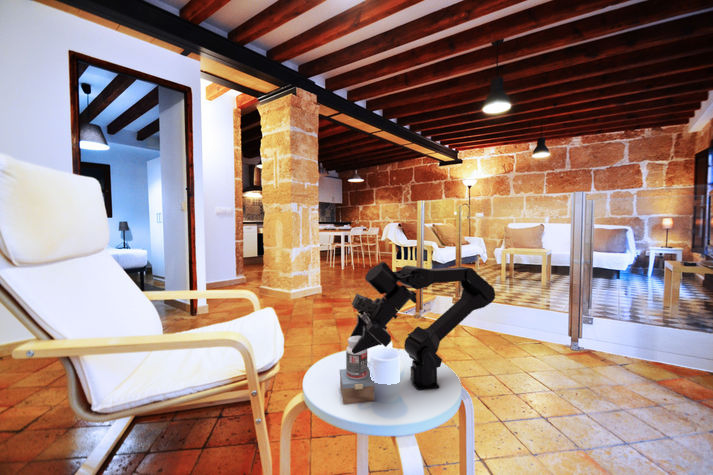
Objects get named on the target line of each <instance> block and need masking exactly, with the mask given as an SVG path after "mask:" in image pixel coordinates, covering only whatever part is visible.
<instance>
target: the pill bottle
mask: <svg viewBox="0 0 713 475" xmlns="http://www.w3.org/2000/svg"><path fill="white" fill-rule="evenodd" d="M360 338H361V336H352V337H350V336H349V337H348V339H347V344H348V346H347V347H346V349H345V350H346V351H345V353H346V354H345V357H346V359H345V361H346V362H345V363H346V368H345V369H346V374H347V376H348V377H349V378H350V379H354V380H360V379H363V378H365V377H366V376H367V367H368V349H366V350H363V351H361V352H358V353H356V354H354V353H353V352H352V349H353V348H354V346H355V345H356V343H357V342H358V340H359V339H360Z"/></svg>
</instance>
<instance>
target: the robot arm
mask: <svg viewBox="0 0 713 475" xmlns="http://www.w3.org/2000/svg"><path fill="white" fill-rule="evenodd" d="M364 277H365V278H364V280H365V281H366V282H367V284H369V285H370V286H371V287H373V289H374V290H375V291H376V292H378V293H379V294H380V295H383V296H382V297H381V298H380V297H377V298H375V300H373V299H372V298H369V297H368V296H363V295H361V294H358V293H356V294H355V296H354V297H353V298H354V299H353V301H352V302H351V305H352V307H353V309H355V310H356V312H357V313H356V317H357V318H356V319H357V320H356V325H355V326H354V328H353V331H352V332H351V334H350V336H349V338H350V337H352V336H361V338H360V339H359V340H358V342H357V343H356V345H355V346H354V348H353V349H352V352H353V353H354V354H356V353H358V352H361V351H363V350H366V349H367V350H369V349H371V348H374V347H377V346H384V348H387V347H388V345H390V343H391V342H392V335H391V334H390V333H389V332H388V330H387V329H388V326H387V325H388V324H389V323H390V322H391V321H392V319H393V318H394V319H395V320H396V319H397V318H398V317H399V316H398V313H399V311H401V309H402V308H403V307H404V306H405V305H406V304H407V303H408V302H409V301H410V302H412V303H413V304H417V303H418V302H417V295H418V294H417V292H416V291H414V290H410V289H408V288H407V287H409V288H411V289H415V290H421V289H425V288H428V287H430V286H432V285H434V284H440V283H451V282H452V283H454V282H459V284H460V287H461V288H462V291H461V295H460V298H459V300H457V301H455V303H454V304H453V305H452V306H450V307H449V308H448V309H446V311H445V312H443V314H441V316H439V317H438V318H436V320H434V322H432V323H431V324H430V325H429V326H428V327H427V328H422V327H420V326H418V325H417V327H415V328H414V330H413V331H411V332H410V333H408V334H407V337H406V338H405V340H404V345H403V346H404V351H405V353H407V354H408V356H409V358H410V359H412V362H411V366H410V381H411V382H412V385H413V386H414V387H415V388H416V390H418V391H420V390H429V389H430V390H431V389H440V384H439V383H438V368H441V365H442V362H443V359H442V358H441V356H439V355H438V354H437V352H438V350H439V346H440V344H441V343H440V342H441V341H442V340H443V339H444V338H445V337H447V336H448V334H450V333H451V332H452V331H453V330H454V329H455V328H456V327H457V326H459V324H461V323H462V322H463V321H464V319H466V318H467V317H468V316H469V315H470V314H472V312H474V311H476V310H480V309H483V308H486V307H488V306H489V305H490V304H491V303H493V302H494V300H495V298H496V291H495V288H494V287H493V285H490V284H489V282H488V281H487V280H485V279H484V278H483V277H481V276H480V275H479V274H478V273H477V272H476V270H474V269H473V268H472V267H467V266H458V267H441V268H439V267H438V268H437V267H436V268H427V267H426V268H424V267H420V266H413V265H403V266H402V268H401V269H399V270H394V271H393V270H392V269H391V267H390V266H389V265H388V263H387V262H385V261H380V262H379V263H378V264H376V265H375V266H373V267H372V268H370V269H369V270H368V271H367V273H366V274H365V276H364ZM398 283H401V285H400V284H398Z"/></svg>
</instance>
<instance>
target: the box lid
mask: <svg viewBox="0 0 713 475" xmlns="http://www.w3.org/2000/svg"><path fill="white" fill-rule="evenodd" d="M370 370H371V369H370V368H369V367H368V366H367V376H366V377H365V378H363V379H360V380H354V379H350V378H349V377H348V376H347V374H346V368H343V369H339V378H340V377H341V382H342V387H343V389H346V388H355V389H363V387H367V386H374V387H375V380H374V381H372V380H371V377H370V372H371V371H370Z"/></svg>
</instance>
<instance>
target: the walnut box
mask: <svg viewBox="0 0 713 475" xmlns="http://www.w3.org/2000/svg"><path fill="white" fill-rule="evenodd" d="M339 383H340V384H339V386H340V387H339V388H340V393H341V399H342V404H343V405H349V404H350V405H351V404H358V403H359V404H361V403H369V402H375V385H374V386H367V387H363V389H355V388H346V389H343V387H342V382H341V377H340V376H339Z"/></svg>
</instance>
